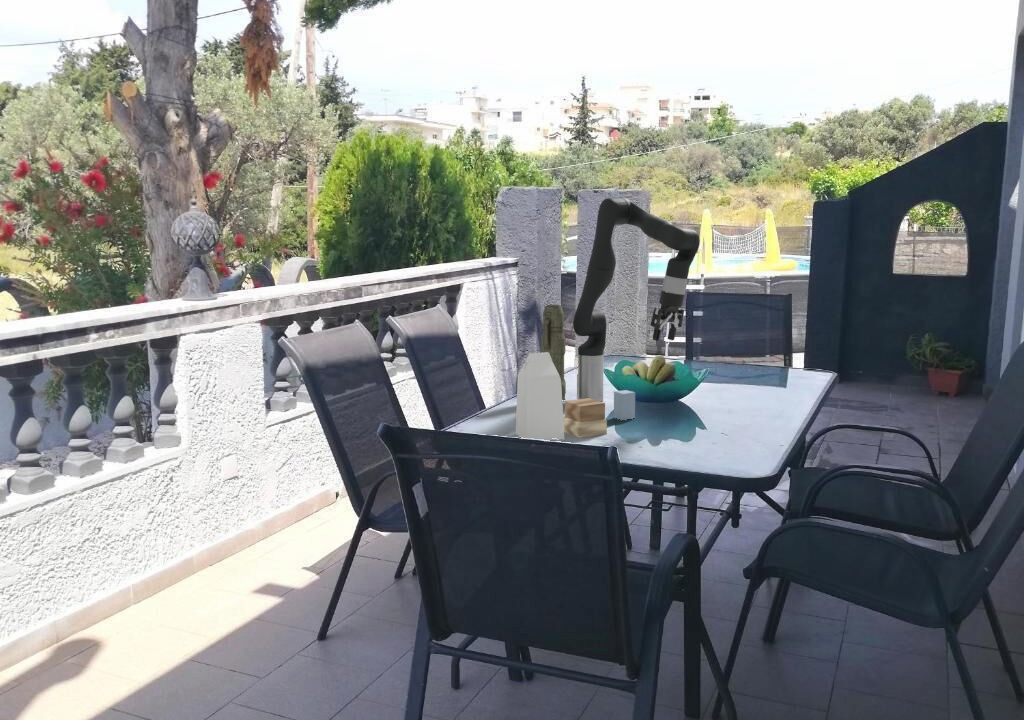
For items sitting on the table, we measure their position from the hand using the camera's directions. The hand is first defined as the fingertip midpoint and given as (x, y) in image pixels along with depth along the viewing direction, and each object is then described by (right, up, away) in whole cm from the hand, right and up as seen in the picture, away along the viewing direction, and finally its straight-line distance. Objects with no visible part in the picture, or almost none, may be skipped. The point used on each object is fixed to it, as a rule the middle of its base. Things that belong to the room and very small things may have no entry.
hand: (663, 340), depth 292 cm
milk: (-40, -30, -15) cm, 53 cm away
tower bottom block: (-26, -29, -10) cm, 41 cm away
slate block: (-11, -26, +9) cm, 30 cm away
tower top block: (-26, -24, -10) cm, 37 cm away
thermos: (-34, -21, +40) cm, 57 cm away
